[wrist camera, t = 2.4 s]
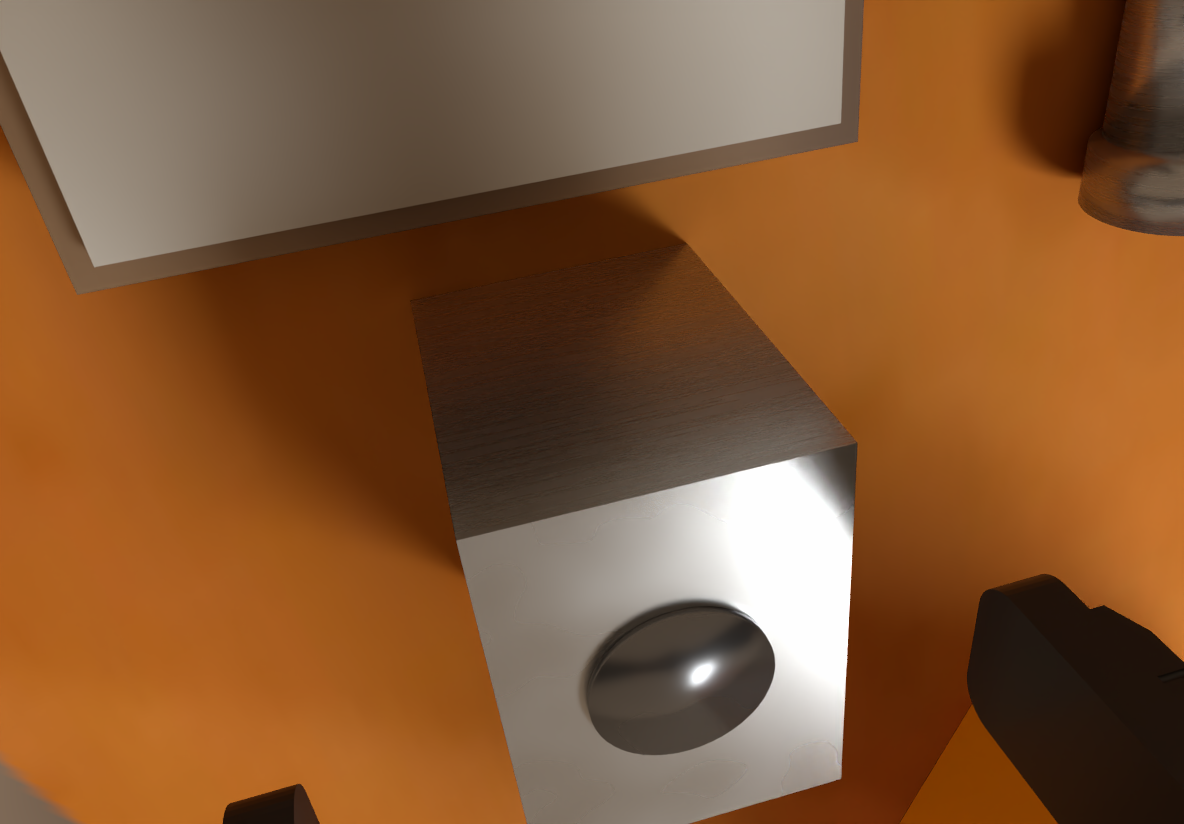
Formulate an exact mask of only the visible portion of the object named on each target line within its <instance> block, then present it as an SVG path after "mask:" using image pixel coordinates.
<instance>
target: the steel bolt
mask: <svg viewBox="0 0 1184 824" xmlns="http://www.w3.org/2000/svg"><path fill="white" fill-rule="evenodd" d="M1078 203H1079V205H1080V207H1081V208H1082V209H1083V210H1084V211H1085V212H1086V213H1087V214H1088V215H1090V216H1092V217H1093V218H1095V219H1097V220H1099V221H1101V222H1104V223H1106V224H1109V225H1112V226H1115V227H1119V228H1122V229H1126V230H1131V231H1136V232H1141V233H1148V234H1156V235H1167V236H1184V0H1126V5H1125V10H1124V15H1123V21H1122V26H1121V32H1120V37H1119V43H1118V48H1117V53H1116V59H1115V64H1114V70H1113V75H1112V81H1111V86H1110V91H1109V97H1108V102H1107V108H1106V113H1105V119H1104V124H1103V127H1102V128H1100V129H1098V130H1096V131H1095V132H1094V133H1092V134H1091V136H1090V137H1089V140H1088V145H1087V151H1086V157H1085V162H1084V168H1083V174H1082V179H1081V185H1080V191H1079V196H1078Z"/></svg>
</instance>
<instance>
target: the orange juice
mask: <svg viewBox="0 0 1184 824" xmlns="http://www.w3.org/2000/svg"><path fill="white" fill-rule="evenodd" d="M899 824H1058V823H1057V822H1056V820H1055V819H1054V818H1053V816H1052V815H1051V814H1050V812H1049V811H1048V810H1047V808H1046V807H1045V806H1044V805H1043V803H1042V802H1041V801H1040V799H1039V798H1038V797H1037V795H1036V794H1035V793H1034V791H1033V790H1032V789H1031V787H1030V786H1029V785H1028V783H1027V782H1026V781H1025V780H1024V778H1023V777H1022V776H1021V774H1020V773H1019V772H1018V770H1017V769H1016V768H1015V766H1014V765H1013V764H1012V762H1011V761H1010V760H1009V758H1008V757H1007V756H1006V754H1005V753H1004V752H1003V751H1002V749H1001V748H1000V747H999V745H998V744H997V743H996V741H995V740H994V739H993V737H992V736H991V735H990V733H989V732H988V731H987V729H986V728H985V727H984V725H983V724H982V722H981V720H980V719H979V717H978V715H977V713H976V711H975V709H974V706H973V704H972V705H971V707H970V708H969V710H968V712H967V713H966V715H965V717H964V718H963V720H962V722H961V723H960V725H959V726H958V728H957V730H956V731H955V733H954V735H953V736H952V738H951V740H950V741H949V743H948V744H947V746H946V748H945V749H944V751H943V753H942V754H941V756H940V758H939V759H938V761H937V763H936V764H935V766H934V767H933V769H932V771H931V772H930V774H929V776H928V777H927V779H926V781H925V782H924V784H923V786H922V787H921V789H920V790H919V792H918V794H917V795H916V797H915V799H914V800H913V802H912V804H911V805H910V807H909V809H908V810H907V812H906V813H905V815H904V817H903V818H902V820H901V822H900V823H899Z"/></svg>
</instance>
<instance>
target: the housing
mask: <svg viewBox="0 0 1184 824" xmlns="http://www.w3.org/2000/svg"><path fill="white" fill-rule="evenodd" d="M411 306H412V311H413V317H414V322H415V327H416V332H417V338H418V343H419V348H420V354H421V359H422V364H423V369H424V375H425V380H426V385H427V390H428V396H429V401H430V406H431V411H432V417H433V422H434V427H435V432H436V438H437V443H438V448H439V453H440V459H441V464H442V469H443V474H444V480H445V485H446V490H447V495H448V501H449V506H450V511H451V517H452V522H453V527H454V532H455V538H456V542H457V546H458V550H459V554H460V558H461V562H462V566H463V570H464V574H465V578H466V582H467V586H468V590H469V594H470V598H471V602H472V606H473V610H474V614H475V618H476V622H477V626H478V630H479V634H480V638H481V642H482V646H483V650H484V654H485V658H486V662H487V666H488V670H489V674H490V678H491V682H492V686H493V690H494V694H495V698H496V702H497V706H498V709H499V713H500V717H501V721H502V725H503V729H504V733H505V737H506V741H507V745H508V749H509V753H510V757H511V761H512V765H513V769H514V773H515V777H516V781H517V785H518V789H519V793H520V797H521V801H522V805H523V809H524V813H525V817H526V821H527V824H689V823H693V822H696V821H700V820H703V819H706V818H710V817H713V816H717V815H720V814H723V813H727V812H730V811H734V810H737V809H740V808H744V807H747V806H751V805H754V804H757V803H761V802H764V801H768V800H771V799H774V798H778V797H781V796H785V795H788V794H791V793H795V792H798V791H802V790H805V789H808V788H812V787H815V786H819V785H822V784H825V783H829V782H832V781H835V780H839V779H841V768H842V747H843V727H844V707H845V686H846V666H847V645H848V625H849V605H850V584H851V564H852V543H853V523H854V503H855V482H856V462H857V442H856V441H855V440H854V438H853V437H852V436H851V435H850V434H849V433H848V431H847V430H846V429H845V428H844V427H843V425H842V424H841V423H840V422H839V421H838V420H837V418H836V417H835V416H834V415H833V414H832V413H831V411H830V410H829V409H828V408H827V407H826V406H825V404H824V403H823V402H822V401H821V400H820V399H819V397H818V396H817V395H816V394H815V393H814V392H813V390H812V389H811V388H810V387H809V386H808V384H807V383H806V382H805V381H804V380H803V379H802V377H801V376H800V375H799V374H798V373H797V372H796V370H795V369H794V368H793V367H792V366H791V365H790V363H789V362H788V361H787V360H786V359H785V358H784V356H783V355H782V354H781V353H780V352H779V351H778V349H777V348H776V347H775V346H774V345H773V343H772V342H771V341H770V340H769V339H768V338H767V336H766V335H765V334H764V333H763V332H762V331H761V329H760V328H759V327H758V326H757V325H756V324H755V322H754V321H753V320H752V319H751V318H750V317H749V315H748V314H747V313H746V312H745V311H744V309H743V308H742V307H741V306H740V305H739V304H738V302H737V301H736V300H735V299H734V298H733V297H732V295H731V294H730V293H729V292H728V291H727V290H726V288H725V287H724V286H723V285H722V284H721V283H720V281H719V280H718V279H717V278H716V277H715V276H714V274H713V273H712V272H711V271H710V270H709V268H708V267H707V266H706V265H705V264H704V263H703V261H702V260H701V259H700V258H699V257H698V256H697V254H696V253H695V252H694V251H693V250H692V249H691V247H690V246H689V245H688V244H687V243H685V244H681V245H676V246H671V247H666V248H661V249H657V250H652V251H647V252H642V253H637V254H633V255H628V256H623V257H618V258H613V259H609V260H604V261H599V262H594V263H589V264H585V265H580V266H575V267H570V268H565V269H561V270H556V271H551V272H546V273H542V274H537V275H532V276H527V277H522V278H518V279H513V280H508V281H503V282H498V283H494V284H489V285H484V286H479V287H474V288H470V289H465V290H460V291H455V292H450V293H446V294H441V295H436V296H431V297H426V298H422V299H417V300H412V301H411Z"/></svg>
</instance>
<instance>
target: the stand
mask: <svg viewBox="0 0 1184 824" xmlns="http://www.w3.org/2000/svg"><path fill="white" fill-rule="evenodd" d="M863 8H864V0H0V125H1V127H2V129H3V132H4V134H5V136H6V138H7V140H8V143H9V145H10V147H11V149H12V151H13V154H14V156H15V158H16V160H17V162H18V165H19V167H20V169H21V171H22V174H23V176H24V178H25V180H26V182H27V185H28V187H29V189H30V191H31V193H32V196H33V198H34V200H35V202H36V205H37V207H38V209H39V211H40V213H41V216H42V218H43V220H44V222H45V224H46V227H47V229H48V231H49V233H50V236H51V238H52V240H53V242H54V244H55V247H56V249H57V251H58V253H59V255H60V258H61V260H62V262H63V264H64V267H65V269H66V271H67V273H68V275H69V278H70V280H71V282H72V284H73V286H74V289H75V291H76V293H77V295H79V294H84V293H89V292H94V291H99V290H104V289H109V288H115V287H120V286H125V285H130V284H135V283H140V282H145V281H150V280H155V279H160V278H165V277H171V276H176V275H181V274H186V273H191V272H196V271H201V270H206V269H211V268H216V267H222V266H227V265H232V264H237V263H242V262H247V261H252V260H257V259H262V258H267V257H272V256H278V255H283V254H288V253H293V252H298V251H303V250H308V249H313V248H318V247H323V246H329V245H334V244H339V243H344V242H349V241H354V240H359V239H364V238H369V237H374V236H379V235H385V234H390V233H395V232H400V231H405V230H410V229H415V228H420V227H425V226H430V225H436V224H441V223H446V222H451V221H456V220H461V219H466V218H471V217H476V216H481V215H486V214H492V213H497V212H502V211H507V210H512V209H517V208H522V207H527V206H532V205H537V204H543V203H548V202H553V201H558V200H563V199H568V198H573V197H578V196H583V195H588V194H593V193H599V192H604V191H609V190H614V189H619V188H624V187H629V186H634V185H639V184H644V183H650V182H655V181H660V180H665V179H670V178H675V177H680V176H685V175H690V174H695V173H700V172H706V171H711V170H716V169H721V168H726V167H731V166H736V165H741V164H746V163H751V162H757V161H762V160H767V159H772V158H777V157H782V156H787V155H792V154H797V153H802V152H807V151H813V150H818V149H823V148H828V147H833V146H838V145H843V144H848V143H853V142H858V124H859V101H860V78H861V55H862V31H863Z"/></svg>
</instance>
